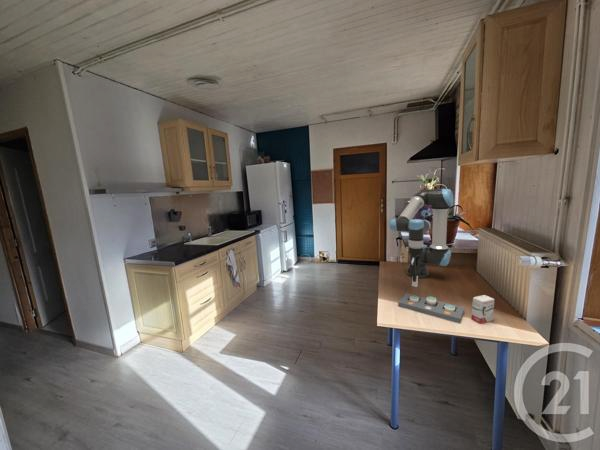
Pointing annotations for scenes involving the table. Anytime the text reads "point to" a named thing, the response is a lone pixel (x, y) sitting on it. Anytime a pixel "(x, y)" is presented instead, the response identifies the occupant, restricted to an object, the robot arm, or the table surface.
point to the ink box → (482, 309)
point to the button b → (431, 301)
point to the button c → (450, 307)
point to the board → (432, 308)
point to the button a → (414, 298)
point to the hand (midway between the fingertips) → (414, 286)
